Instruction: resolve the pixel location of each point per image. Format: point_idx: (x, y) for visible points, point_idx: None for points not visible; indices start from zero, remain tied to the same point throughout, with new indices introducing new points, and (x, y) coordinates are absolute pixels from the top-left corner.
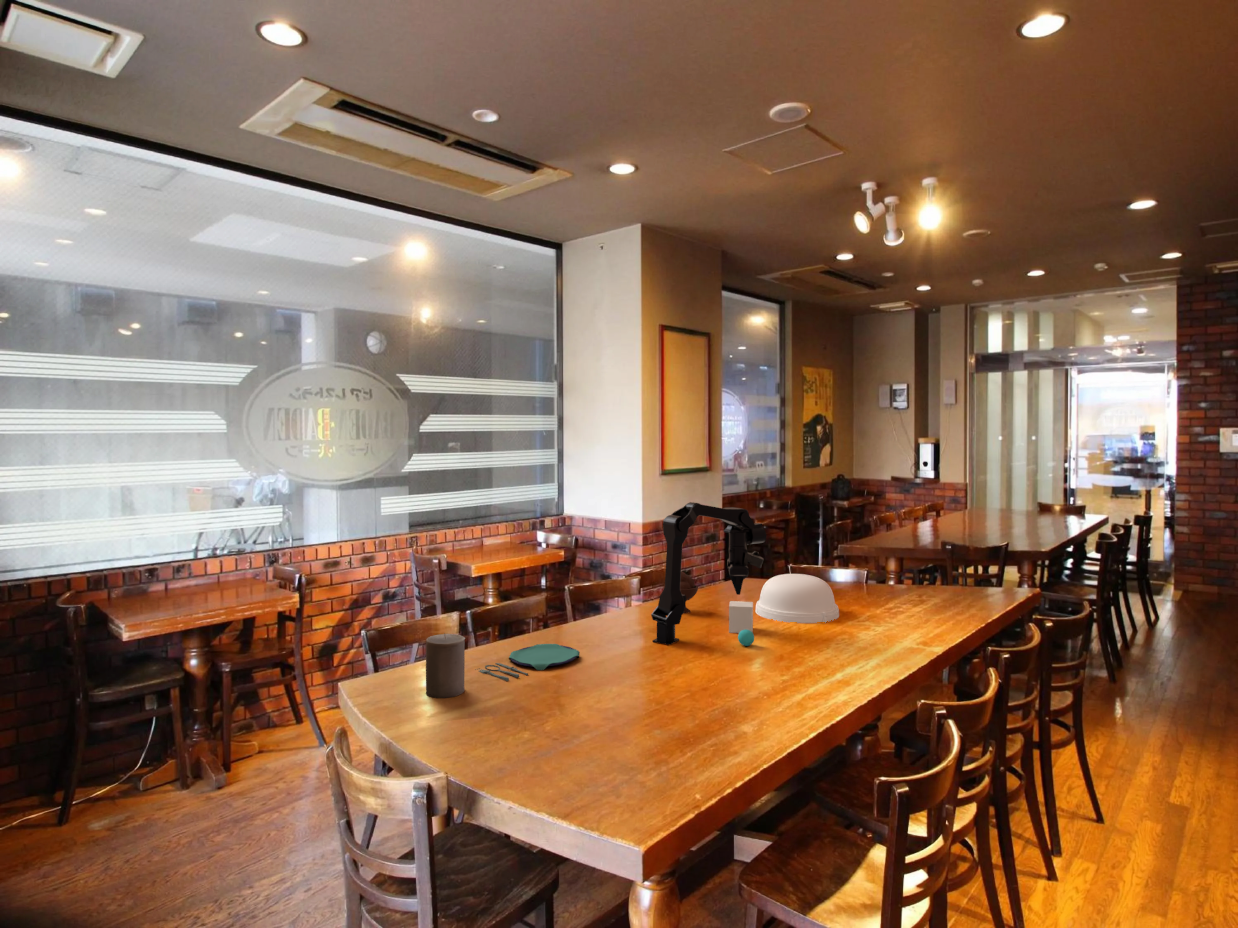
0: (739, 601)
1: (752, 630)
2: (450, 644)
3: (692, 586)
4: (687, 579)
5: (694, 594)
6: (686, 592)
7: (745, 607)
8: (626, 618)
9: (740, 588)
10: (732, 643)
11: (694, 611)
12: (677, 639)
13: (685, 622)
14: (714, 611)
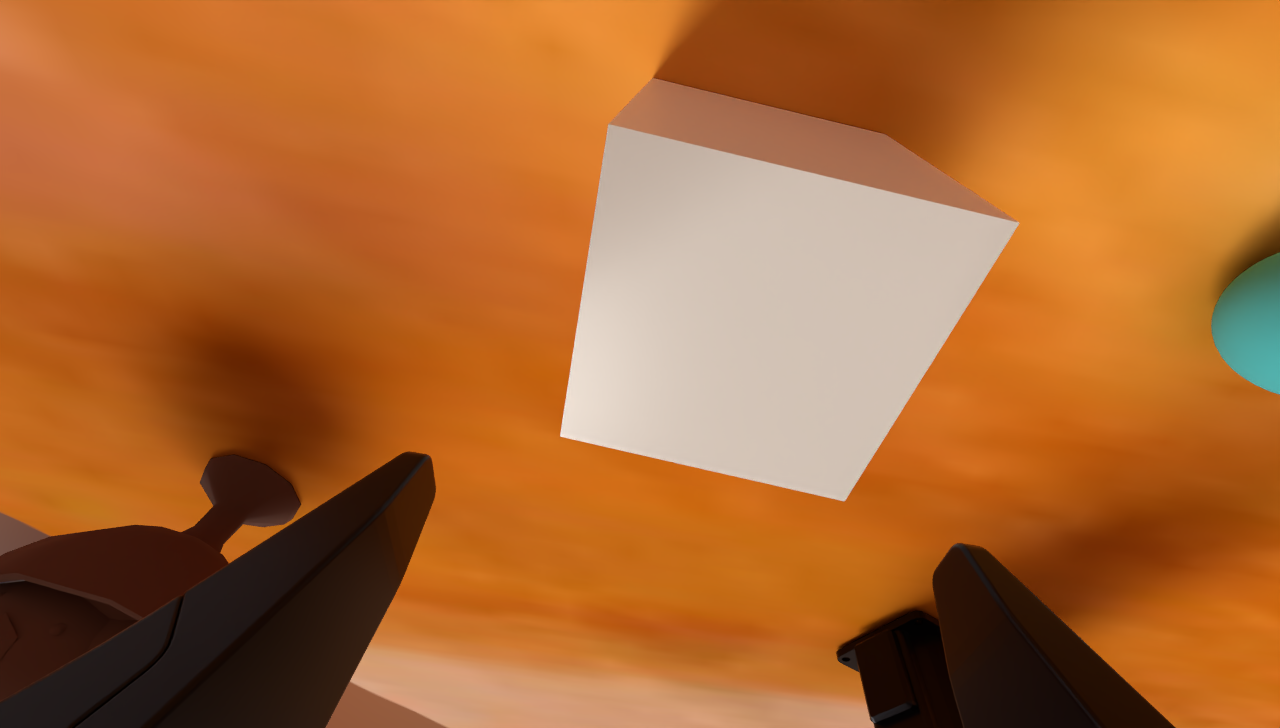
0: (580, 334)
1: (893, 141)
2: None
3: (76, 617)
4: None
5: (162, 555)
6: None
7: (949, 326)
8: (476, 688)
9: (1106, 683)
10: (1126, 372)
11: (216, 433)
12: (929, 624)
13: (516, 521)
14: (148, 312)
